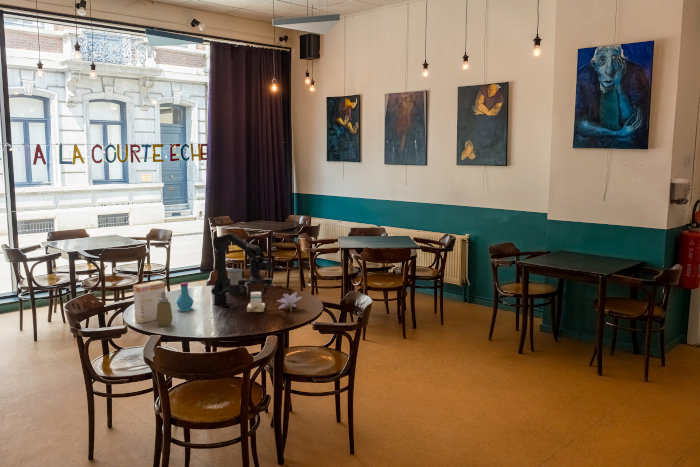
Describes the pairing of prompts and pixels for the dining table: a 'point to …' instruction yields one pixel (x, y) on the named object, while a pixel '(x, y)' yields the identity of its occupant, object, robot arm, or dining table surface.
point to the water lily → (289, 300)
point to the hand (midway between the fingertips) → (255, 296)
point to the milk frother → (235, 281)
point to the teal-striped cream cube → (255, 299)
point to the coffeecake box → (147, 300)
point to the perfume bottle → (184, 298)
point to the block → (256, 308)
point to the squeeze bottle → (164, 311)
